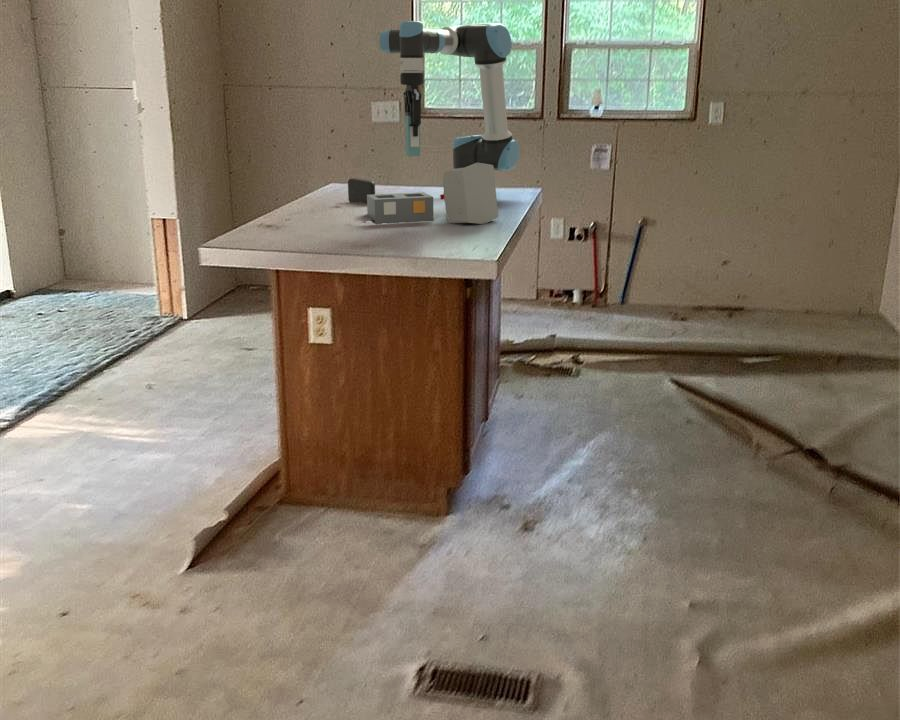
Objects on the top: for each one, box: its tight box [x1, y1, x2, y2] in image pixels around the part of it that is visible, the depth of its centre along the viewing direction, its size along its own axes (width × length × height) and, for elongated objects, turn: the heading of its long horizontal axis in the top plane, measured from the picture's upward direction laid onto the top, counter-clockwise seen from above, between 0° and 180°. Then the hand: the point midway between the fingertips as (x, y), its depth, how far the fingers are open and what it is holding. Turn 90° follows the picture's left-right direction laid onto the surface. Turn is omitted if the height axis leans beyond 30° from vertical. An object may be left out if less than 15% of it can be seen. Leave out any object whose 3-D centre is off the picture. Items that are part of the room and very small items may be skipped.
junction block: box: [366, 191, 434, 225], centre depth 301 cm, size 20×12×8 cm, turn 107°
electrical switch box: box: [439, 163, 499, 225], centre depth 297 cm, size 14×15×20 cm
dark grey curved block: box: [347, 177, 376, 204], centre depth 331 cm, size 16×5×9 cm, turn 39°
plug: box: [404, 111, 421, 157], centre depth 294 cm, size 4×4×14 cm
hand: (412, 145), depth 296 cm, fingers closed on plug, 4 cm apart
